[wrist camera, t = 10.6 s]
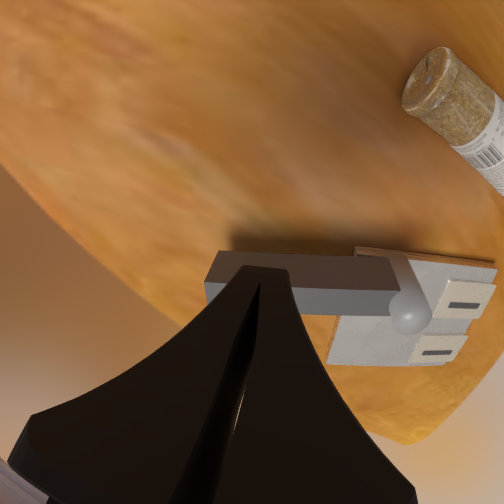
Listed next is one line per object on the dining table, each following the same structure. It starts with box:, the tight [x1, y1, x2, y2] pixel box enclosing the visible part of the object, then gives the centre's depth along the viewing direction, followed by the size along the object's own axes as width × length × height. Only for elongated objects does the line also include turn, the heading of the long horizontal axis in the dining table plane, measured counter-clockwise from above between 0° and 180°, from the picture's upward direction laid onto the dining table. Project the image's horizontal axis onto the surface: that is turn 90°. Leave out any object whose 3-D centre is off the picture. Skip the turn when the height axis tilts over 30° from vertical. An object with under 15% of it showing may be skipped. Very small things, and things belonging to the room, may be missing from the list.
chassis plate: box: [326, 246, 498, 366], centre depth 20 cm, size 12×11×1 cm
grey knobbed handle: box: [204, 251, 432, 335], centre depth 16 cm, size 2×12×5 cm, turn 92°
